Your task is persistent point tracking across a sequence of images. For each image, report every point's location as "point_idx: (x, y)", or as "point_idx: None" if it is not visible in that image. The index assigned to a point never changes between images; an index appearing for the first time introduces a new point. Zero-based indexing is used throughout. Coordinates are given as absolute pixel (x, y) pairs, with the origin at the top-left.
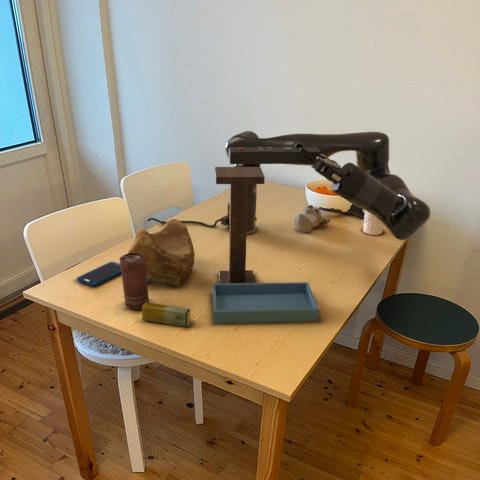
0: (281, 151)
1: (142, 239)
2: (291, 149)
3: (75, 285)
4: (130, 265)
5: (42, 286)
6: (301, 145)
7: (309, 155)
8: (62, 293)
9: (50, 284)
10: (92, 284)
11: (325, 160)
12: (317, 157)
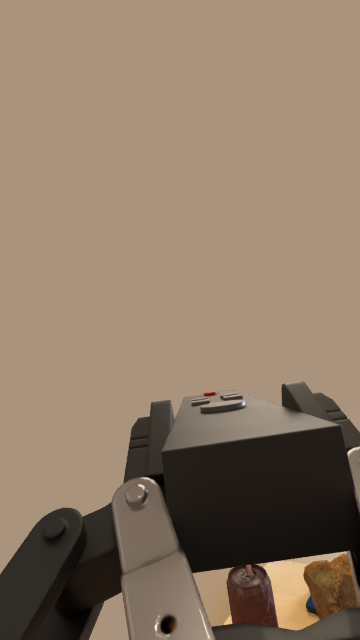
0: (184, 411)
1: (319, 567)
2: (205, 409)
3: (305, 589)
4: (227, 582)
5: (290, 562)
6: (292, 399)
7: (129, 453)
8: (278, 584)
9: (298, 567)
10: (306, 603)
11: (141, 565)
12: (122, 488)
